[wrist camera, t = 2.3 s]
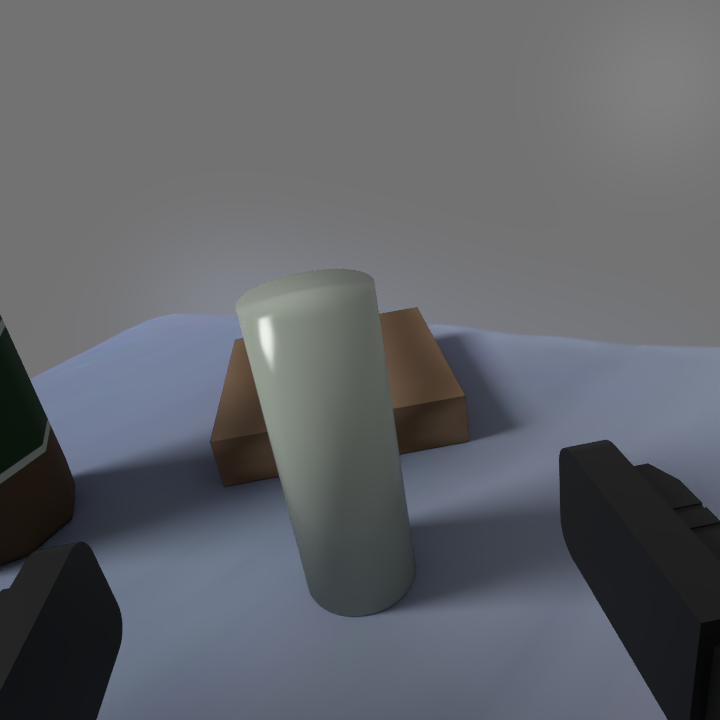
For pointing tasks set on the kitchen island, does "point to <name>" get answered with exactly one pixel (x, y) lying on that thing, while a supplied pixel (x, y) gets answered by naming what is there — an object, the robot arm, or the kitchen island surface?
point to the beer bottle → (28, 463)
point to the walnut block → (407, 387)
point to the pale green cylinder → (332, 434)
